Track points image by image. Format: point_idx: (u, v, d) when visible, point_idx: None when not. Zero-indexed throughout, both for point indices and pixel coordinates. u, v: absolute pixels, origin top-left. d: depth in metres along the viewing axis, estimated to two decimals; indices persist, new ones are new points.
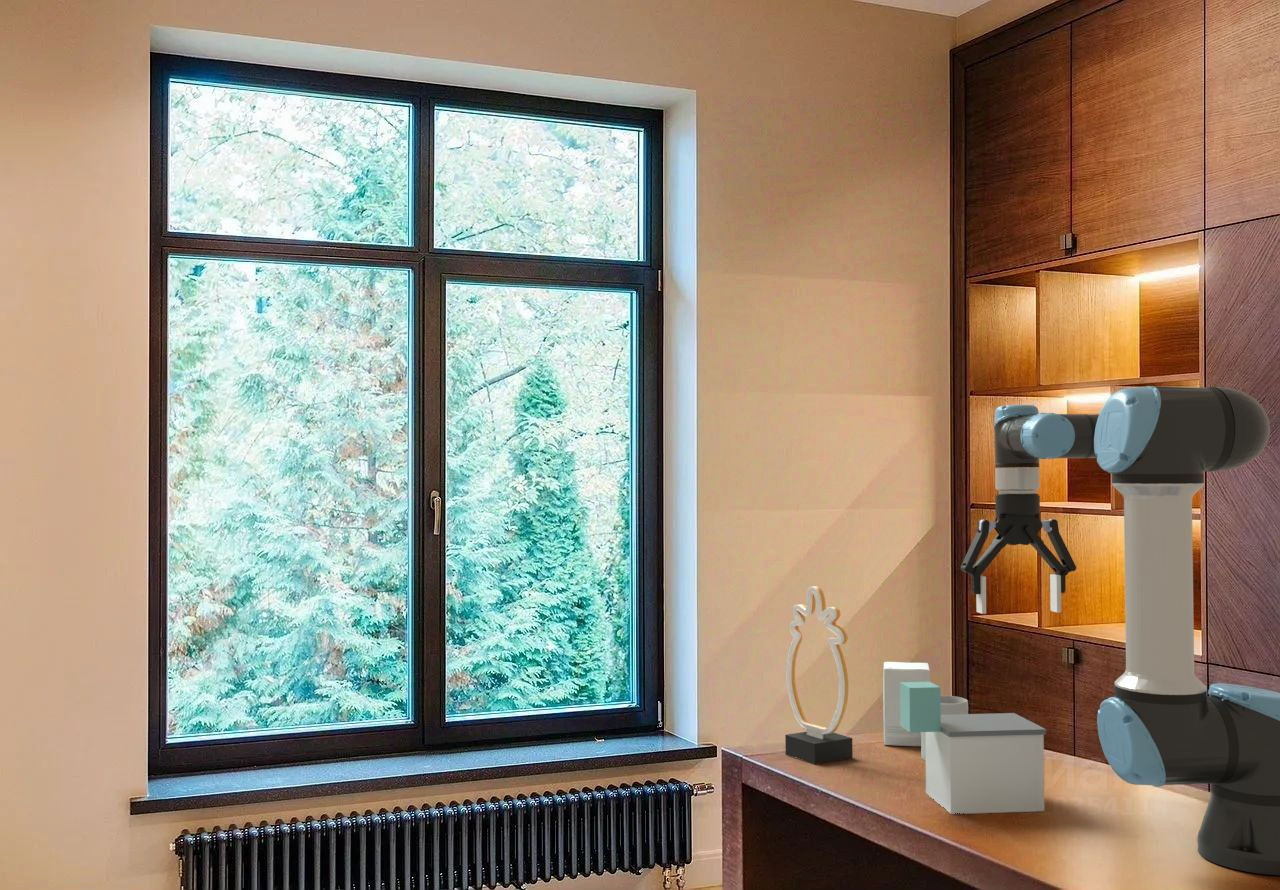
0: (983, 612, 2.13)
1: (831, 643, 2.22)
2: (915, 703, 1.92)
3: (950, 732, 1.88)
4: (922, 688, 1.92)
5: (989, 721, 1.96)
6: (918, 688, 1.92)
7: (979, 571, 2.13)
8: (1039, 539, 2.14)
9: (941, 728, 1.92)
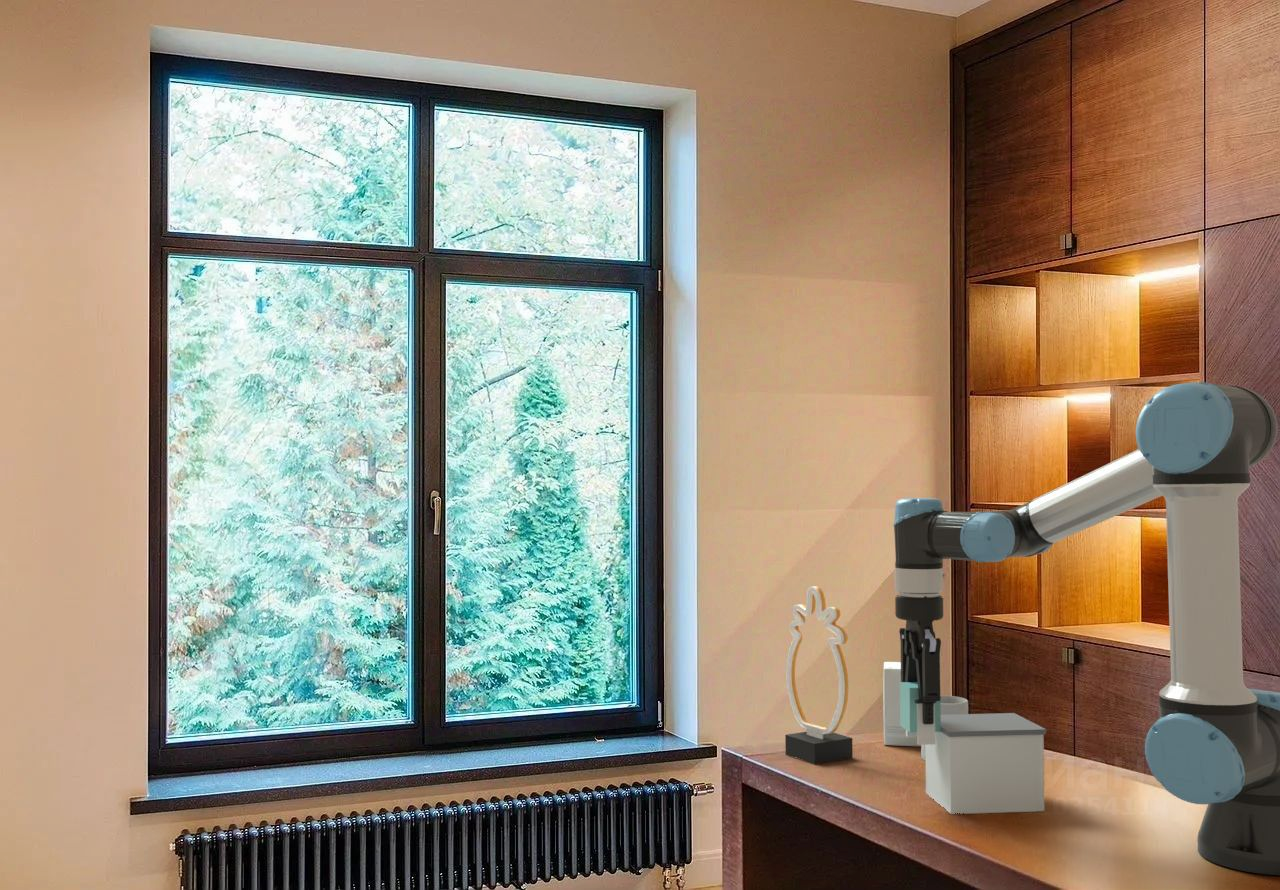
0: (906, 734, 1.97)
1: (831, 643, 2.22)
2: (915, 703, 1.92)
3: (950, 732, 1.88)
4: None
5: (989, 721, 1.96)
6: None
7: None
8: (913, 652, 1.92)
9: (941, 728, 1.92)
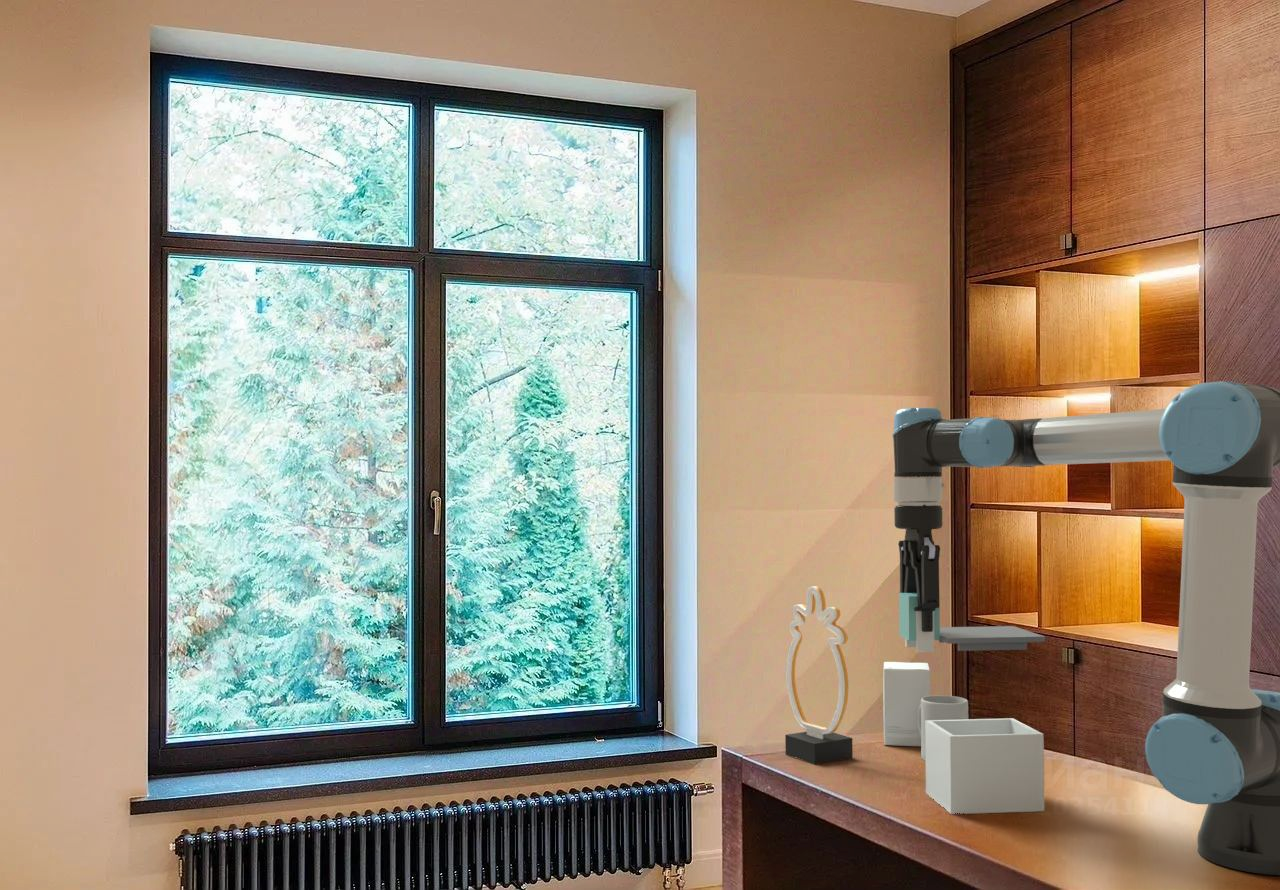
0: (905, 645, 1.97)
1: (831, 643, 2.22)
2: (914, 611, 1.92)
3: (949, 639, 1.89)
4: None
5: (988, 631, 1.96)
6: None
7: None
8: (912, 561, 1.93)
9: (940, 636, 1.92)
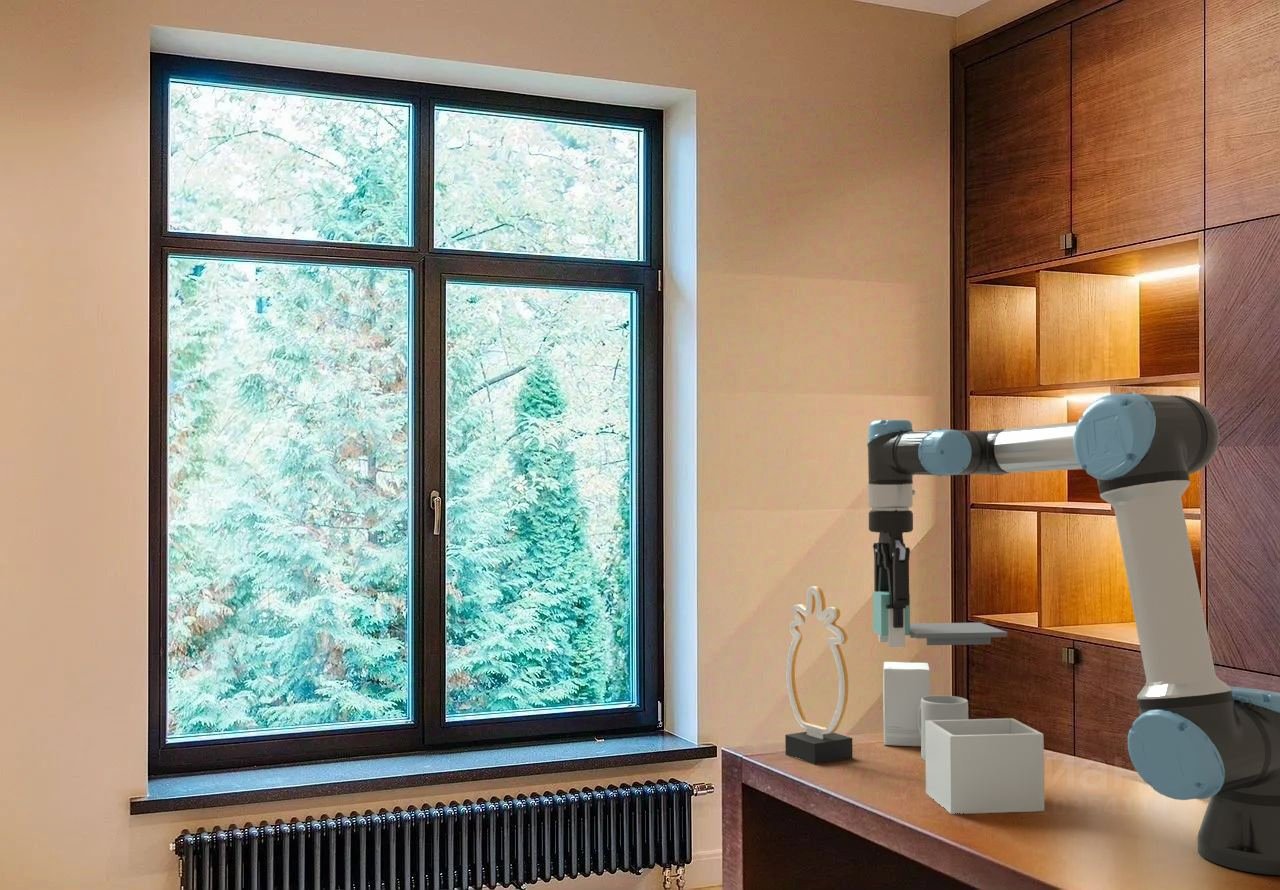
0: (879, 640, 2.12)
1: (831, 643, 2.22)
2: (886, 609, 2.07)
3: (918, 634, 2.04)
4: None
5: (955, 627, 2.11)
6: None
7: None
8: (885, 562, 2.07)
9: (910, 632, 2.07)
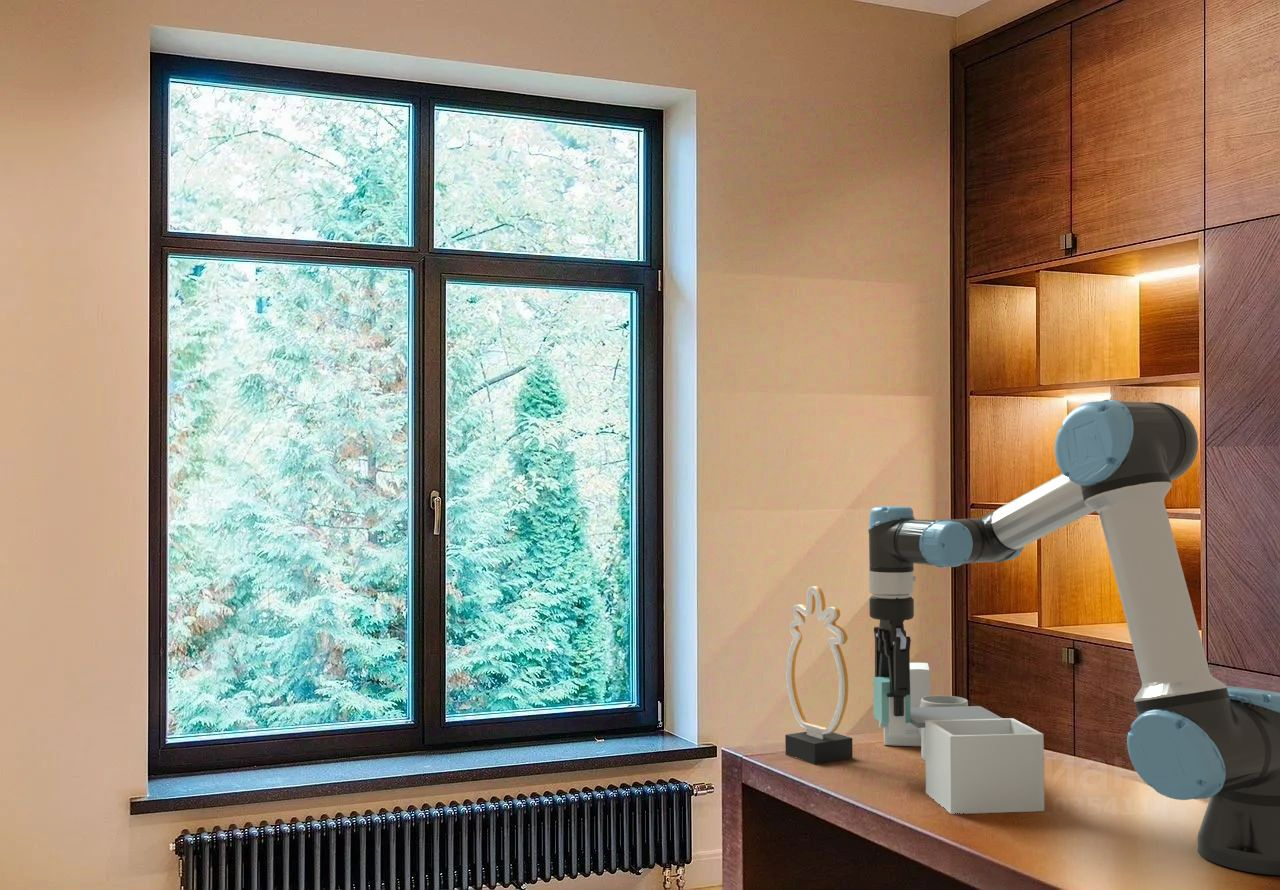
0: (879, 725, 2.12)
1: (831, 643, 2.22)
2: None
3: (919, 723, 2.03)
4: None
5: (956, 713, 2.11)
6: None
7: None
8: (885, 649, 2.07)
9: (911, 720, 2.07)
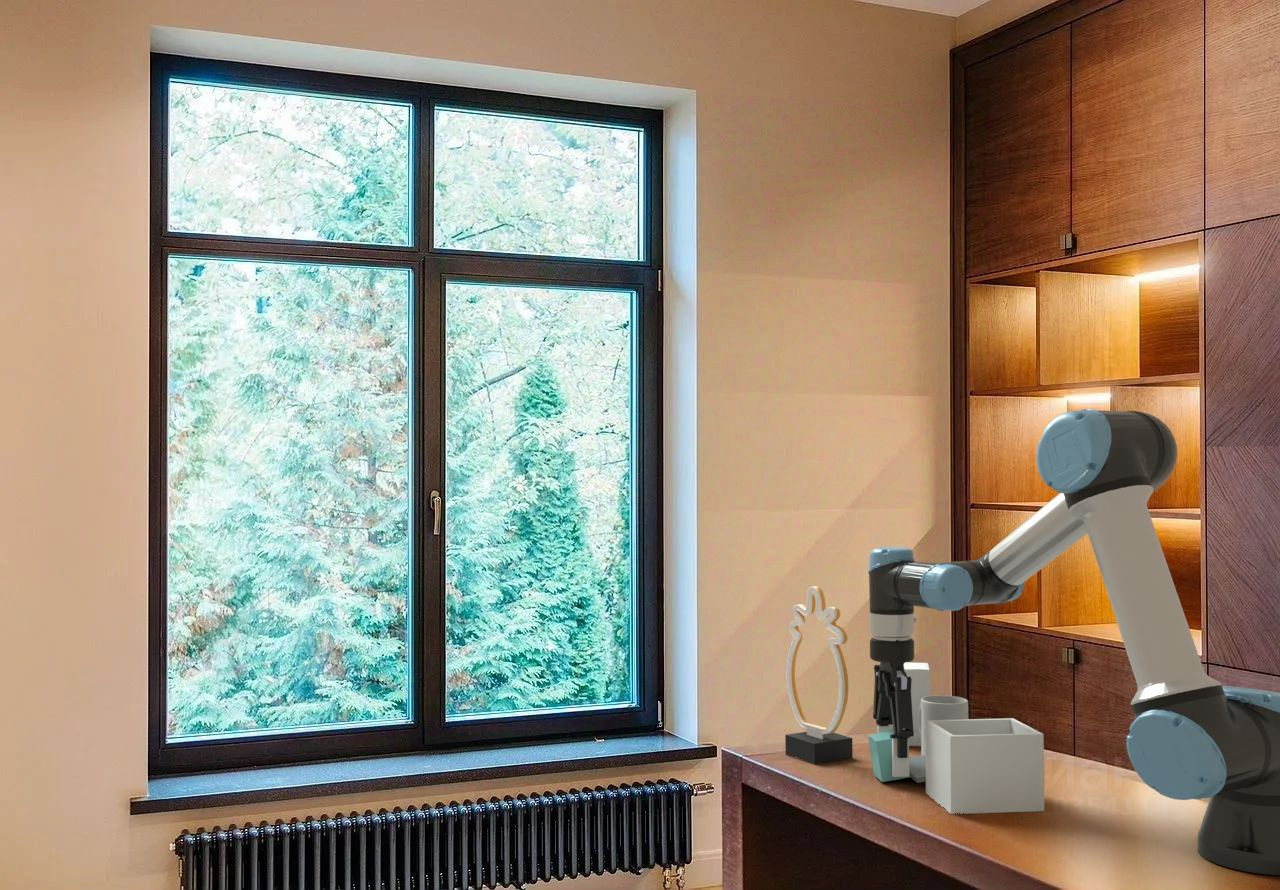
0: None
1: (831, 643, 2.22)
2: (883, 754, 2.06)
3: (918, 778, 2.03)
4: (888, 740, 2.07)
5: None
6: (884, 740, 2.07)
7: (877, 720, 2.14)
8: (887, 691, 2.07)
9: (910, 774, 2.06)
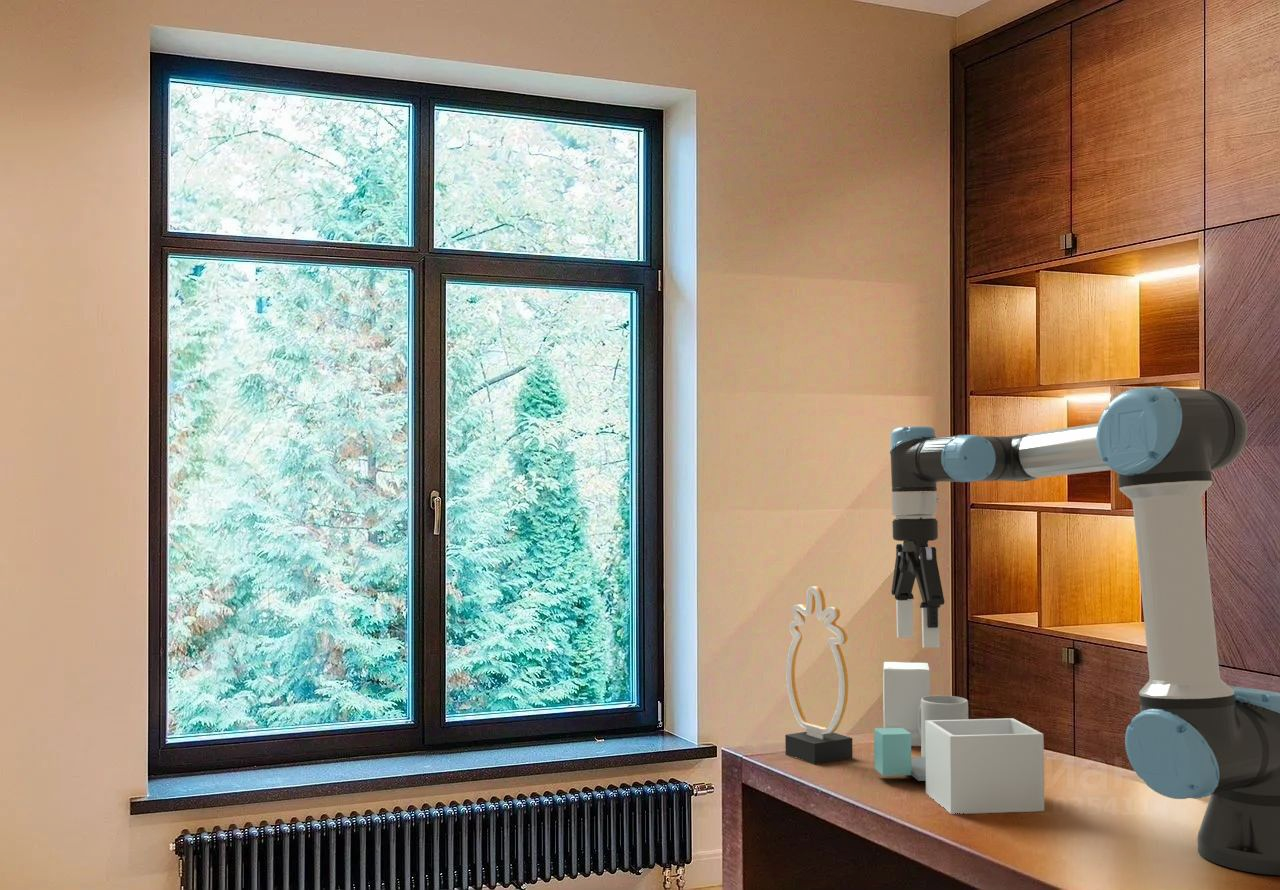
0: (897, 636, 2.13)
1: (831, 643, 2.22)
2: (888, 748, 2.07)
3: (919, 776, 2.03)
4: (894, 735, 2.07)
5: None
6: (890, 735, 2.07)
7: (895, 595, 2.14)
8: (912, 567, 2.03)
9: (912, 772, 2.06)
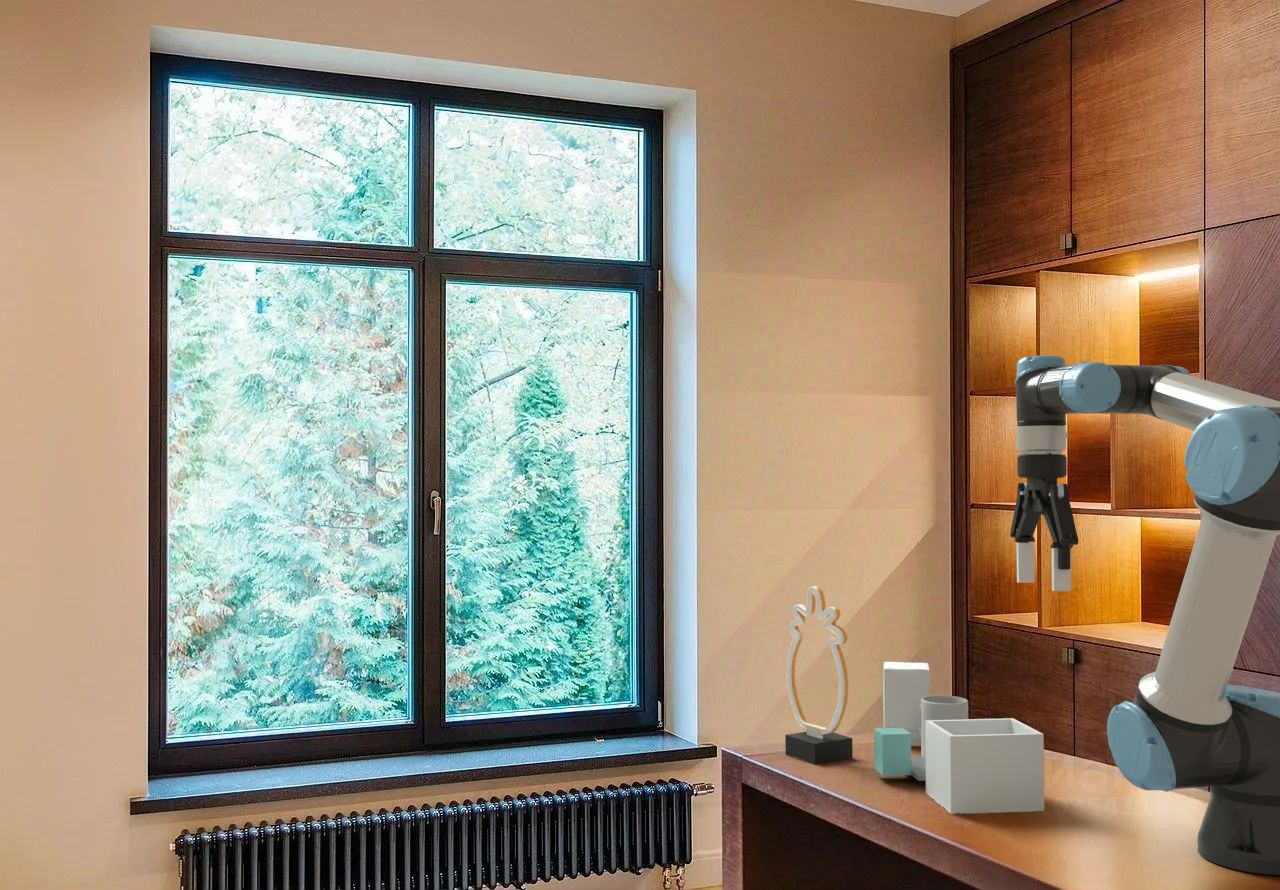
0: (1017, 581, 2.00)
1: (831, 643, 2.22)
2: (888, 748, 2.07)
3: (919, 776, 2.03)
4: (894, 735, 2.07)
5: None
6: (890, 735, 2.07)
7: (1016, 537, 2.01)
8: (1040, 505, 1.90)
9: (912, 772, 2.06)
